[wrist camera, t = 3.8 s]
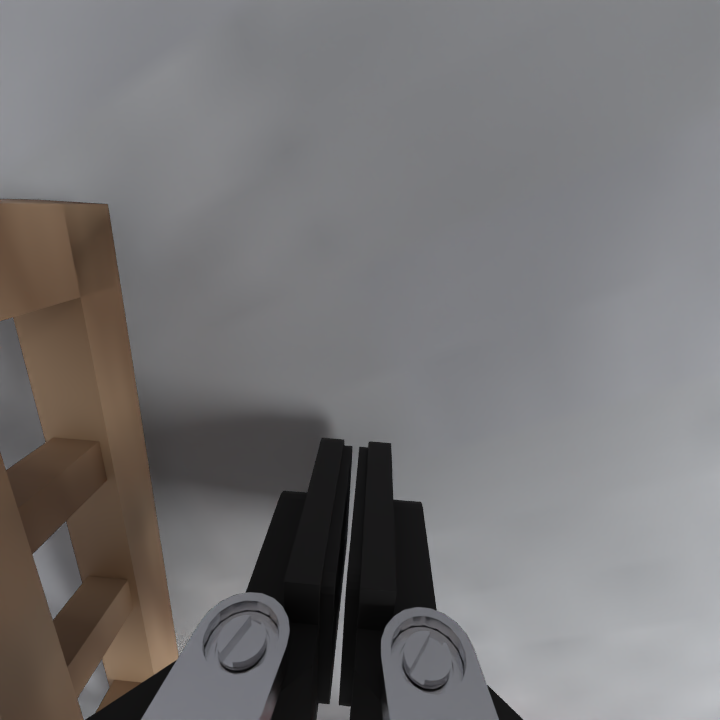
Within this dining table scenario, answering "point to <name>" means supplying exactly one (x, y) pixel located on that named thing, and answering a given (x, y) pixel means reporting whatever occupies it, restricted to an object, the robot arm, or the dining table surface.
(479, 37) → the dining table surface
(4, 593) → the gate
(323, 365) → the dining table surface
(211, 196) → the dining table surface
